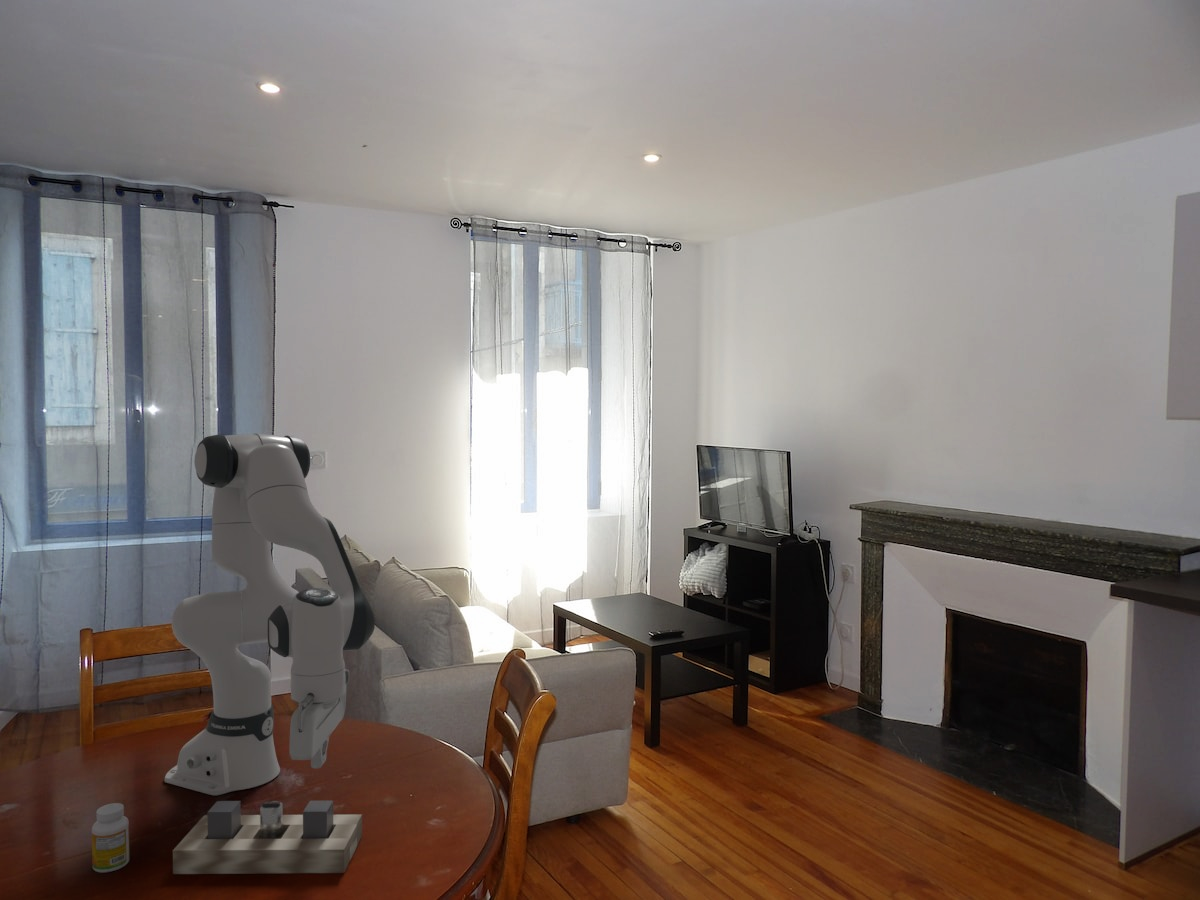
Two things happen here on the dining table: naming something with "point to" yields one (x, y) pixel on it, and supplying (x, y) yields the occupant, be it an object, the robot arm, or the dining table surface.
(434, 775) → the dining table surface
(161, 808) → the dining table surface
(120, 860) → the supplement bottle
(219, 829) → the inner button
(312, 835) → the outer button
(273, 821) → the steel dial
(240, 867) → the mount
